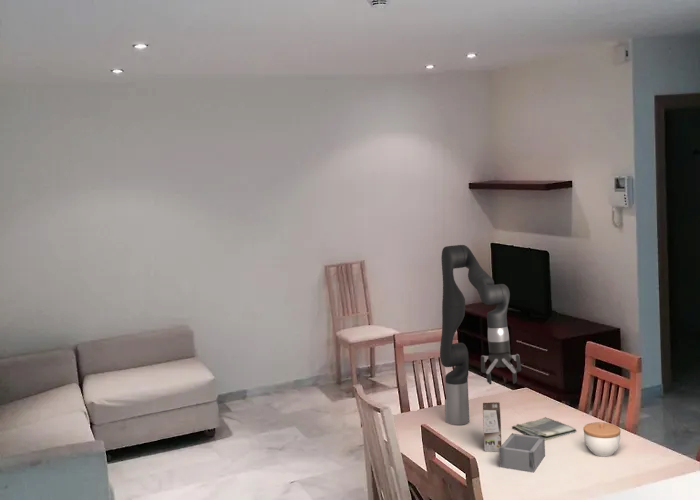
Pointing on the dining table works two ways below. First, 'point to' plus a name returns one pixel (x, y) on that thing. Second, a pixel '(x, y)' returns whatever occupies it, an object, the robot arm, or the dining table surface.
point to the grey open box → (522, 452)
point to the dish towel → (544, 428)
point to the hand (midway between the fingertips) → (502, 383)
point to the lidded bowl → (602, 438)
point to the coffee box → (492, 426)
